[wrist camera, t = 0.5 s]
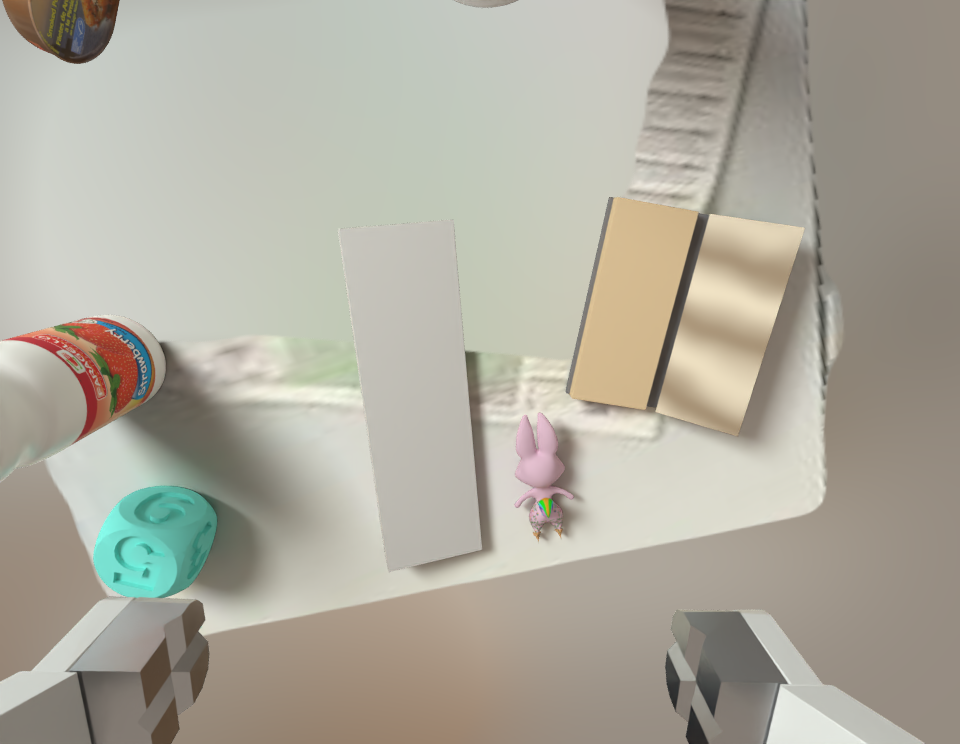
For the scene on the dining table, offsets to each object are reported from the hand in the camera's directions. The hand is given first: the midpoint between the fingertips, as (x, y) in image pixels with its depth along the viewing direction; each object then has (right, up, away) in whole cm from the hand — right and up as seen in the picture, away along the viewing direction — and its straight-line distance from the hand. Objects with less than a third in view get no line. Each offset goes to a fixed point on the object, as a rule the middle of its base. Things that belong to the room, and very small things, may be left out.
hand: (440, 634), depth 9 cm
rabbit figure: (+7, -6, +49) cm, 49 cm away
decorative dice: (-32, -11, +49) cm, 60 cm away
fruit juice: (-35, +6, +44) cm, 57 cm away
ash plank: (+24, +9, +41) cm, 49 cm away
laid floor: (+19, +10, +44) cm, 49 cm away
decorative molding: (-6, +2, +47) cm, 47 cm away
